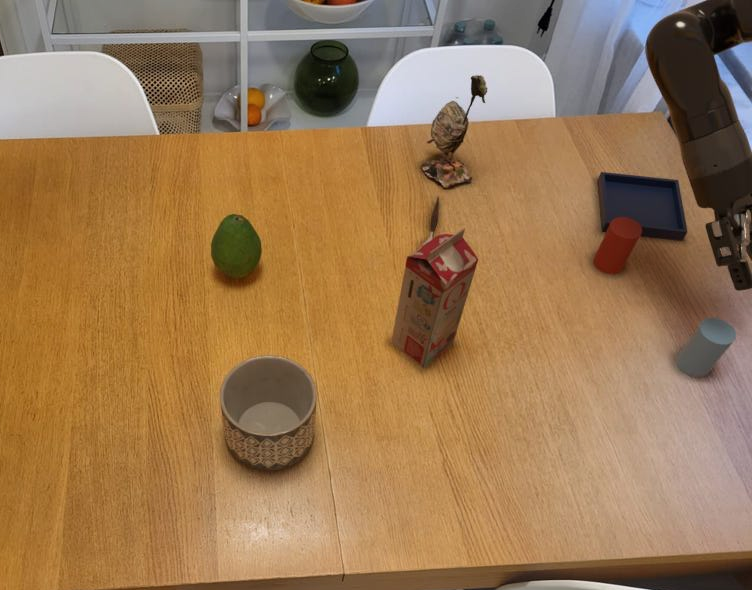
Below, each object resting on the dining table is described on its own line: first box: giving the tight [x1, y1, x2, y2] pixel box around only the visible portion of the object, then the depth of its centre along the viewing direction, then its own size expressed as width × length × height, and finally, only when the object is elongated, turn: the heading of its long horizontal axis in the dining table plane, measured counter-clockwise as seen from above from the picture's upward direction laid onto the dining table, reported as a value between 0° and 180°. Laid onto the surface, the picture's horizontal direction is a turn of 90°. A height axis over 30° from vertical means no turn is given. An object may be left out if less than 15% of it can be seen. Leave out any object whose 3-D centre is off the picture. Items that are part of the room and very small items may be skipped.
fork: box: [420, 196, 440, 247], centre depth 128 cm, size 3×16×2 cm, turn 166°
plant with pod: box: [420, 74, 489, 188], centre depth 130 cm, size 8×11×20 cm
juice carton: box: [390, 227, 479, 369], centre depth 106 cm, size 7×7×22 cm
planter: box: [219, 354, 318, 471], centre depth 102 cm, size 13×13×10 cm
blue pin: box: [675, 317, 737, 378], centre depth 109 cm, size 5×5×8 cm
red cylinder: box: [592, 217, 642, 275], centre depth 121 cm, size 5×5×8 cm
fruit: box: [210, 213, 263, 279], centre depth 119 cm, size 8×8×12 cm
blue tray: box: [596, 171, 688, 241], centre depth 130 cm, size 13×13×2 cm
